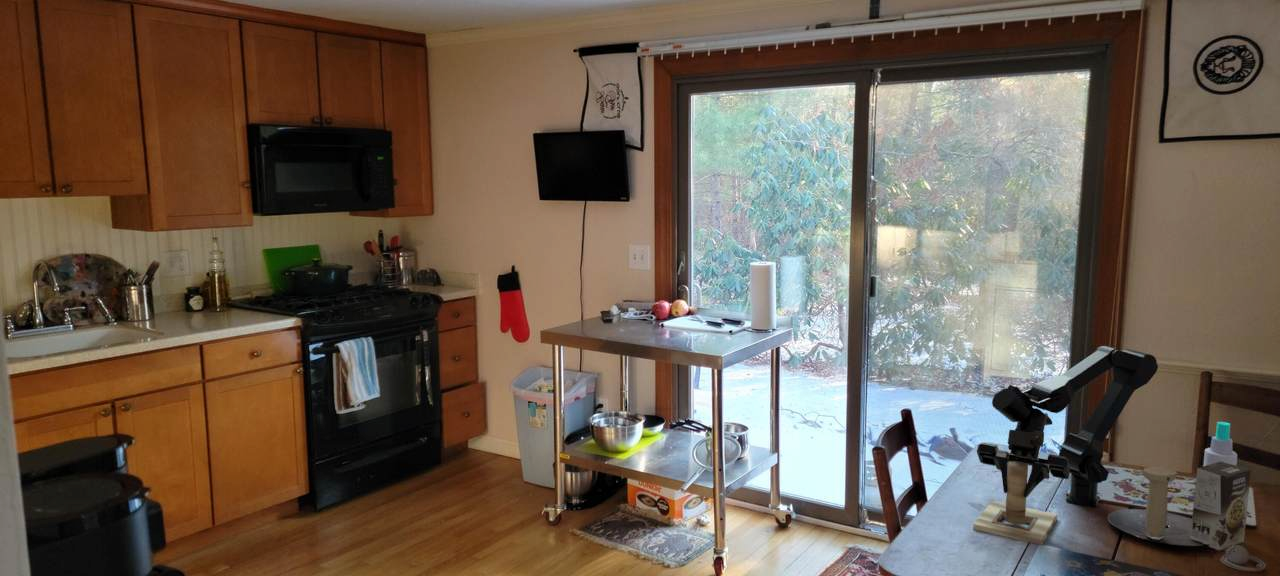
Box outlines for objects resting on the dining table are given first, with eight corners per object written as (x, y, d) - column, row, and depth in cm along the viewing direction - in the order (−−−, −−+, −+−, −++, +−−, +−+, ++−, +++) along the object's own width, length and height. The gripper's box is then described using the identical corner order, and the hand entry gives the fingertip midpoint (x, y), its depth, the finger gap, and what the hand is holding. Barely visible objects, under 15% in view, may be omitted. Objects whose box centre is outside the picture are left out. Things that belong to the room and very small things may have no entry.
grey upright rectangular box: (1220, 551, 180) (1227, 476, 177) (1188, 539, 185) (1195, 467, 183) (1245, 542, 184) (1253, 469, 181) (1213, 530, 189) (1220, 459, 187)
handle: (1176, 541, 184) (1182, 474, 182) (1149, 544, 183) (1155, 476, 181) (1158, 532, 189) (1164, 466, 187) (1132, 534, 188) (1138, 468, 186)
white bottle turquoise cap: (1218, 524, 192) (1228, 428, 189) (1192, 514, 198) (1201, 421, 195) (1237, 520, 195) (1246, 425, 191) (1210, 510, 200) (1219, 418, 197)
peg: (1007, 515, 196) (1010, 460, 194) (1026, 519, 193) (1030, 463, 191) (1002, 521, 192) (1005, 465, 190) (1022, 526, 190) (1025, 469, 188)
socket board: (991, 505, 204) (992, 499, 204) (1056, 519, 196) (1057, 513, 196) (973, 529, 191) (973, 523, 191) (1041, 544, 183) (1042, 538, 183)
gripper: (980, 408, 198) (965, 468, 191) (1070, 421, 187) (1057, 486, 180) (988, 432, 205) (973, 491, 198) (1075, 446, 195) (1062, 510, 187)
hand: (1015, 494), depth 191 cm, fingers closed on peg, 4 cm apart
